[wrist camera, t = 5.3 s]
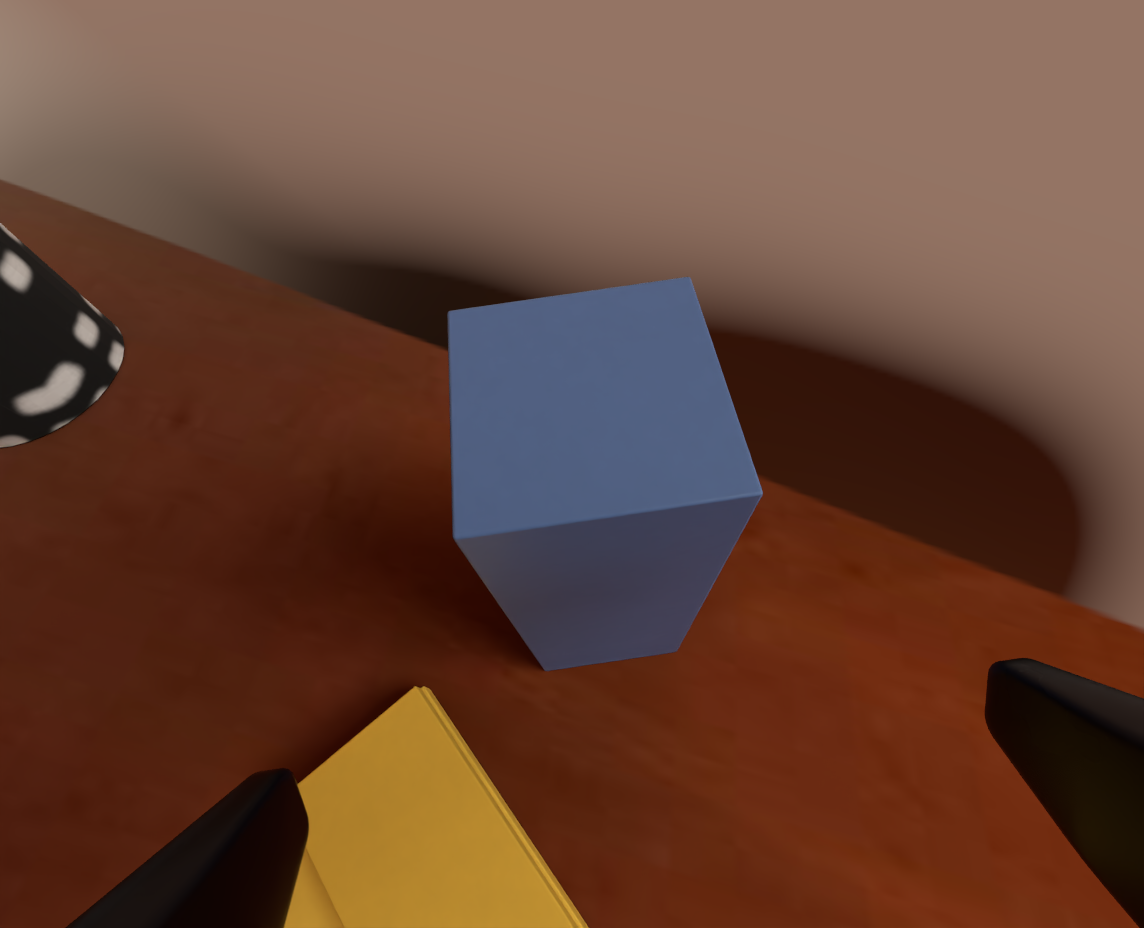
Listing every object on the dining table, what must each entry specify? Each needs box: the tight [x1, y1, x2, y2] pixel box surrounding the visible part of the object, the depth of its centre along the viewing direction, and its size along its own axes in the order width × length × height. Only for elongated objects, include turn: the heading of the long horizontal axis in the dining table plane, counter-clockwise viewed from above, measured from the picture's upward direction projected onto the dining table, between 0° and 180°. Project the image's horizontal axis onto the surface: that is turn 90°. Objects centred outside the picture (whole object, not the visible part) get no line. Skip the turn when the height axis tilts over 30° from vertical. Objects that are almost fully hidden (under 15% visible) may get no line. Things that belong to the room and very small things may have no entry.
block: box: [448, 277, 763, 671], centre depth 14 cm, size 5×5×12 cm
